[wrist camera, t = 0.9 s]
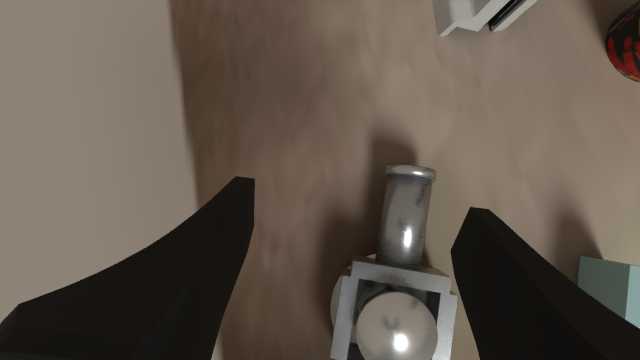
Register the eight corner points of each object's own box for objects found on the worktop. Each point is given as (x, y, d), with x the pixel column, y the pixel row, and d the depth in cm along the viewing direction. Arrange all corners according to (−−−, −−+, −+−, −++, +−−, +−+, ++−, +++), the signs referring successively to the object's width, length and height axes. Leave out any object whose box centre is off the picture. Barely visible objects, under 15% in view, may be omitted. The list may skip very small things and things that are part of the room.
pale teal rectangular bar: (586, 437, 24) (640, 488, 20) (557, 431, 24) (604, 480, 20) (604, 259, 25) (659, 269, 21) (575, 255, 25) (625, 264, 21)
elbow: (430, 371, 25) (444, 398, 21) (330, 351, 26) (327, 374, 22) (455, 179, 26) (473, 173, 22) (359, 164, 27) (361, 156, 23)
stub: (434, 376, 25) (459, 422, 20) (322, 354, 26) (316, 392, 21) (449, 262, 26) (477, 276, 21) (339, 244, 27) (338, 252, 21)
